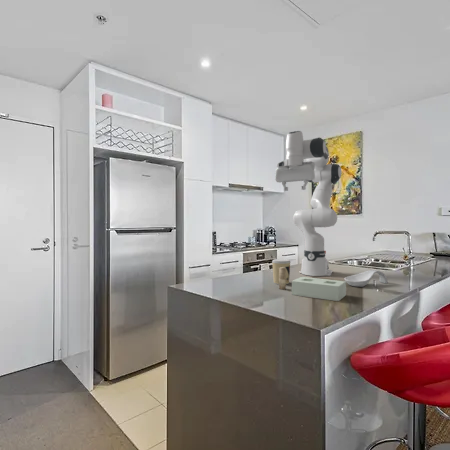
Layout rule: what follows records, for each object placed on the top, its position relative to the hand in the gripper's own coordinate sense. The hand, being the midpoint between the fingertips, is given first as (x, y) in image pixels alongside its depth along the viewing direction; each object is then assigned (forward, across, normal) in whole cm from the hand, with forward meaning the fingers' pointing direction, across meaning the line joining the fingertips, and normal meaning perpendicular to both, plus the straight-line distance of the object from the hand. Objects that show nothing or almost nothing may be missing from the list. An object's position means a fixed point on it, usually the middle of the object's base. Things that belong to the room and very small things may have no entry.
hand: (294, 190), depth 160 cm
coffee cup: (+48, +6, +3) cm, 49 cm away
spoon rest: (+48, -31, -17) cm, 60 cm away
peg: (+48, 0, +15) cm, 50 cm away
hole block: (+48, -18, +17) cm, 54 cm away
